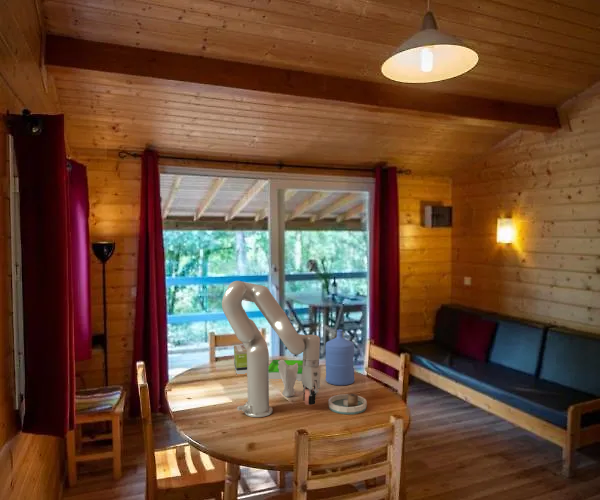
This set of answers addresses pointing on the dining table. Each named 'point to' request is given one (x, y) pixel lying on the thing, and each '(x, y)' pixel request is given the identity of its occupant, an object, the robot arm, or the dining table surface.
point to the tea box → (240, 359)
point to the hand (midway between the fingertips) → (309, 401)
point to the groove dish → (346, 405)
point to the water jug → (339, 360)
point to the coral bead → (307, 396)
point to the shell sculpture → (288, 377)
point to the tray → (275, 370)
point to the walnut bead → (352, 400)
